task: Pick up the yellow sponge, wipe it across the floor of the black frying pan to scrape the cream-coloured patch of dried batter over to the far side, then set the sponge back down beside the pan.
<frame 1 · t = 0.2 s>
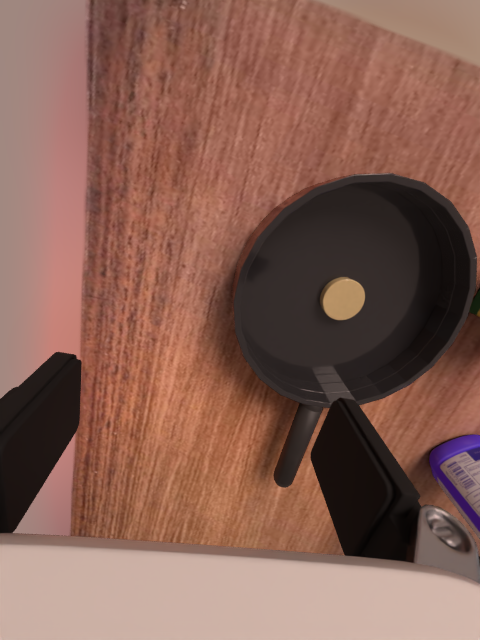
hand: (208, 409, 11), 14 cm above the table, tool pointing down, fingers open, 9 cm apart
batter: (340, 297, 24), point 1 cm above the table, touching pan
pan: (337, 295, 24), on the table
bottle: (452, 450, 33), on the table
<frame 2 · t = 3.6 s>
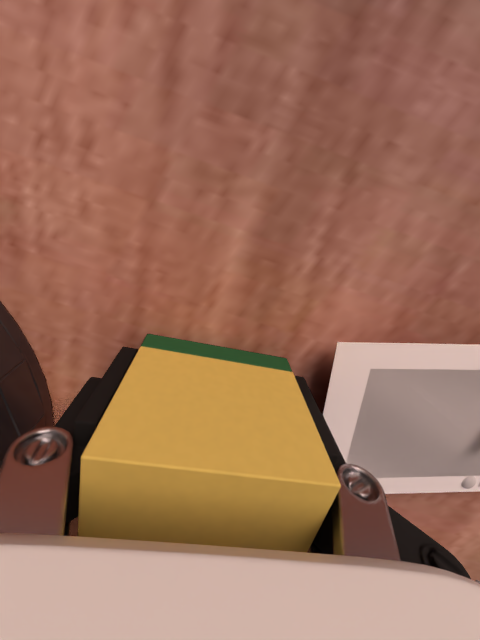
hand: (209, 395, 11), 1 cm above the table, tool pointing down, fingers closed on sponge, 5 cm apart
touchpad: (467, 407, 13), on the table
sponge: (209, 388, 12), on the table, touching gripper
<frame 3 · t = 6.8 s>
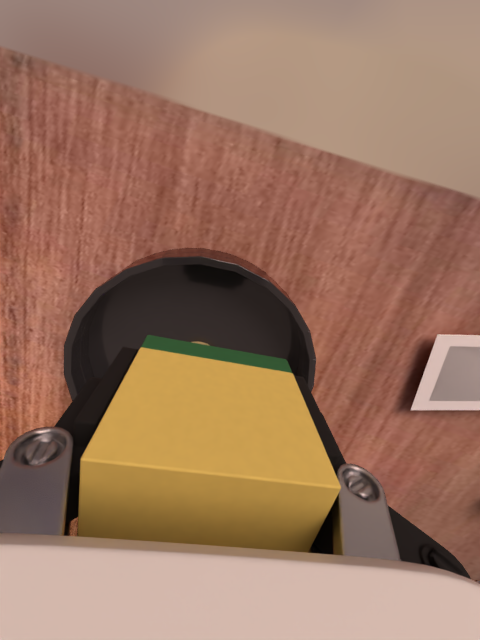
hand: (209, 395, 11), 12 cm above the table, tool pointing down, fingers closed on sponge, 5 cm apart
sponge: (209, 388, 12), point 11 cm above the table, touching gripper
pan: (197, 356, 24), on the table
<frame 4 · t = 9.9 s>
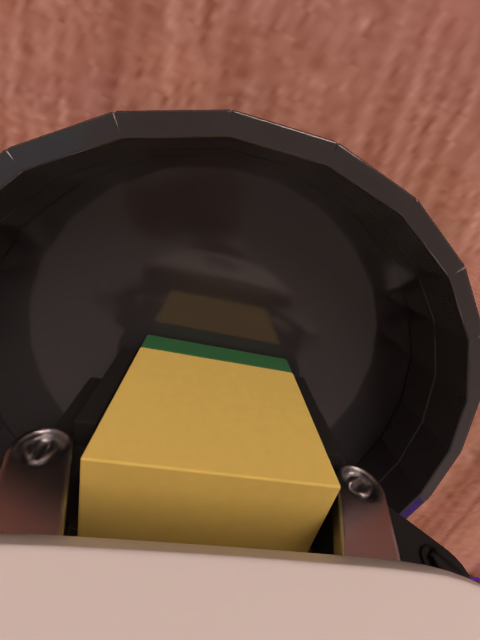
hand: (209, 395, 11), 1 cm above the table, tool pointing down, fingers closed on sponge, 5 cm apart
sponge: (209, 388, 12), point 1 cm above the table, touching gripper
pan: (209, 381, 12), on the table
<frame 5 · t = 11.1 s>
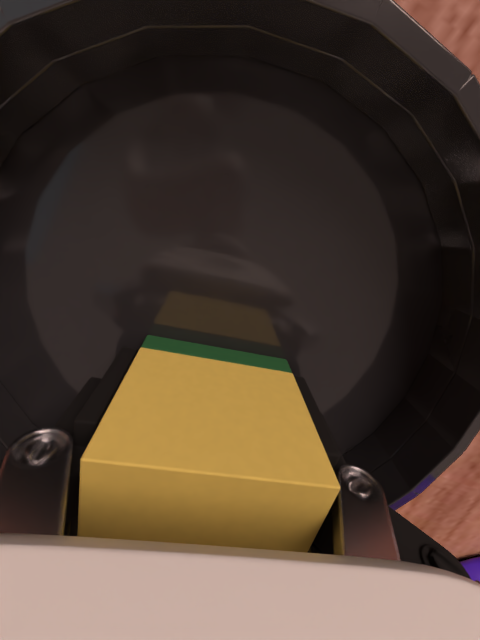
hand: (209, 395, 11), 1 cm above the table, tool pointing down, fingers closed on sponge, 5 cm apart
sponge: (209, 388, 12), point 1 cm above the table, touching gripper
pan: (220, 334, 12), on the table
bottle: (456, 572, 20), on the table
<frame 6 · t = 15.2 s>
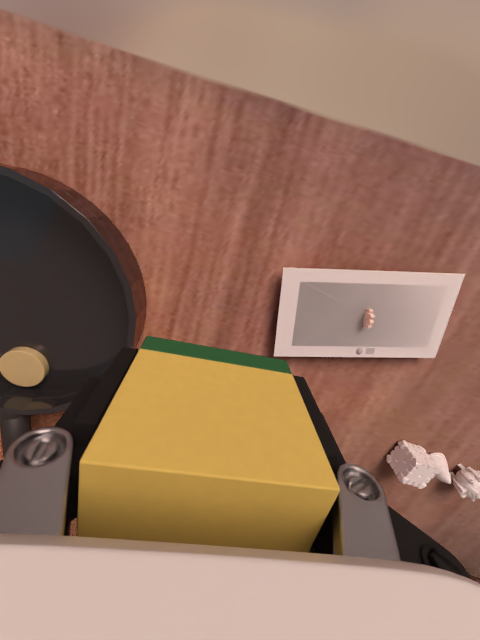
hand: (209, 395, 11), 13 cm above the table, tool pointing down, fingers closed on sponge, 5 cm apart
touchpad: (359, 311, 25), on the table
batter: (27, 364, 24), point 1 cm above the table, touching pan
sponge: (209, 389, 12), point 13 cm above the table, touching gripper
pan: (29, 293, 23), on the table
game pieces: (431, 459, 33), on the table
when the fingers open (0 cm above the table, at t = 18.5 s): sponge stays where it is, on the table.
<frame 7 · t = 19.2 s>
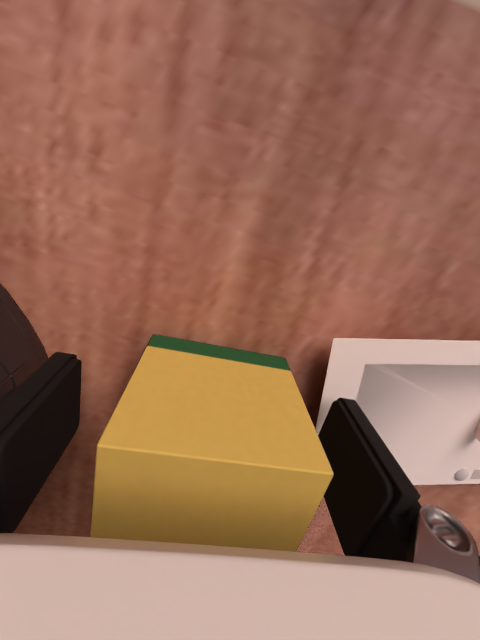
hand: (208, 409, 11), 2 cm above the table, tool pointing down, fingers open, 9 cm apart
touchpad: (460, 402, 14), on the table
sponge: (211, 386, 12), on the table
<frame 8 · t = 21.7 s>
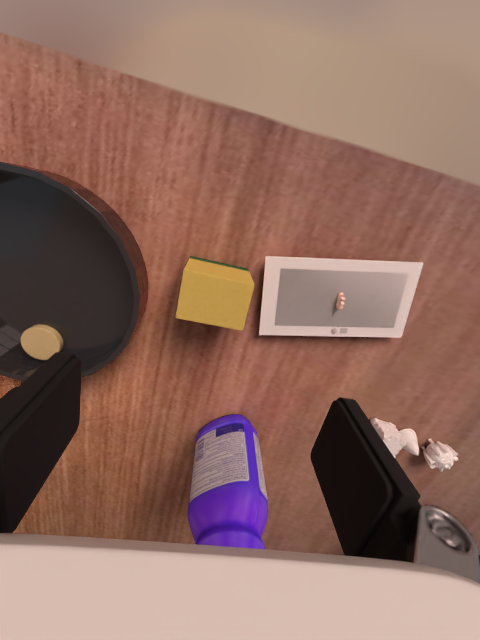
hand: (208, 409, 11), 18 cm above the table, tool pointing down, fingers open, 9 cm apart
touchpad: (333, 295, 29), on the table
batter: (44, 340, 28), point 1 cm above the table, touching pan
sponge: (215, 282, 27), on the table
pan: (47, 278, 26), on the table
bottle: (226, 430, 35), on the table
game pieces: (403, 435, 37), on the table
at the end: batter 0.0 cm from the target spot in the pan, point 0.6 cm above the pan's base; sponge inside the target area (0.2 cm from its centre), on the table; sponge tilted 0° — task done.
